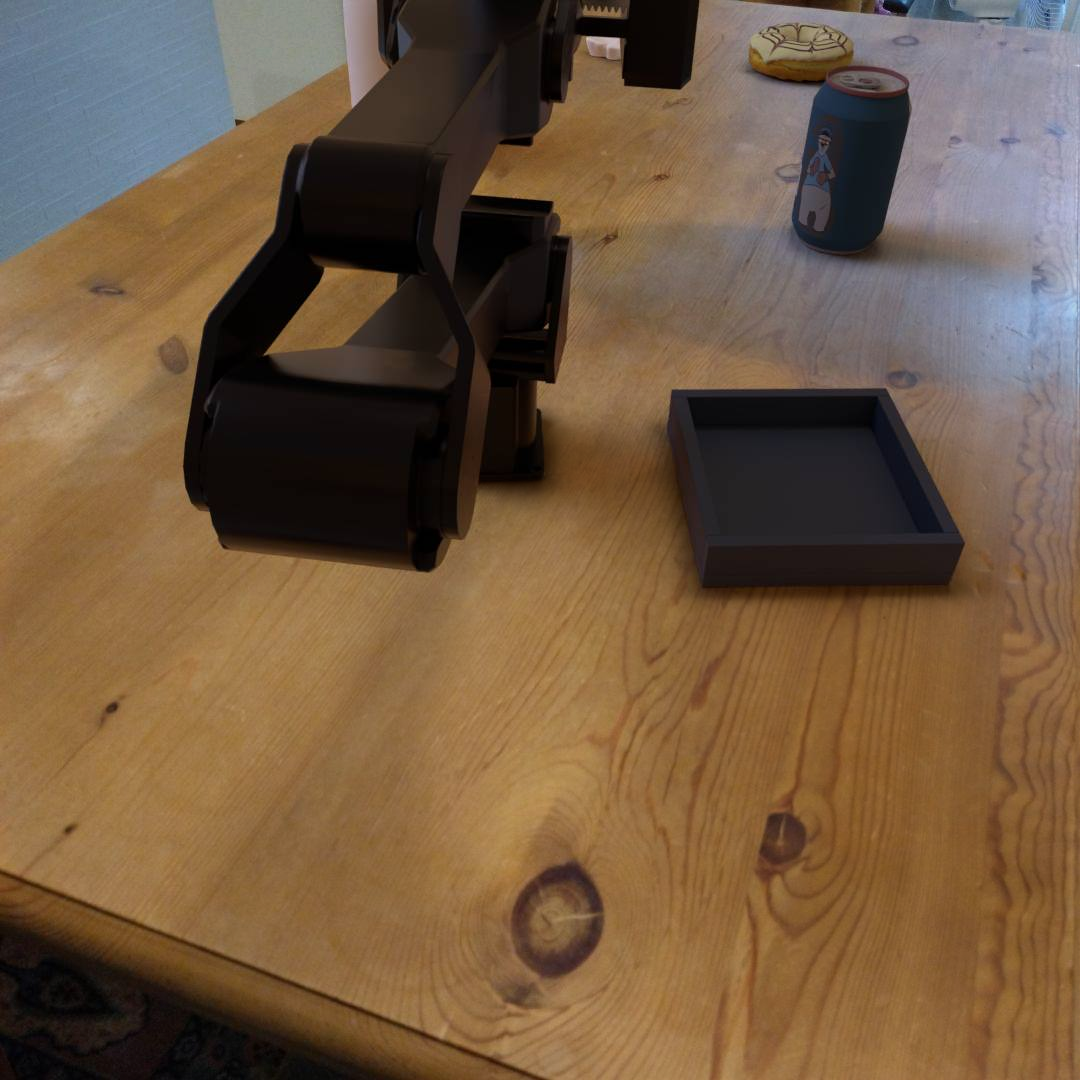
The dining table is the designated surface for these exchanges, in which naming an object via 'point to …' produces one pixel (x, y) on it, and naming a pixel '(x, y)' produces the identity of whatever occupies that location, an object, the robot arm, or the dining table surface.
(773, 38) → the decorated donut
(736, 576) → the tray
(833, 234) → the soda can
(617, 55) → the acanthus leaf ornament
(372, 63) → the milk bottle
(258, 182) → the dining table surface
